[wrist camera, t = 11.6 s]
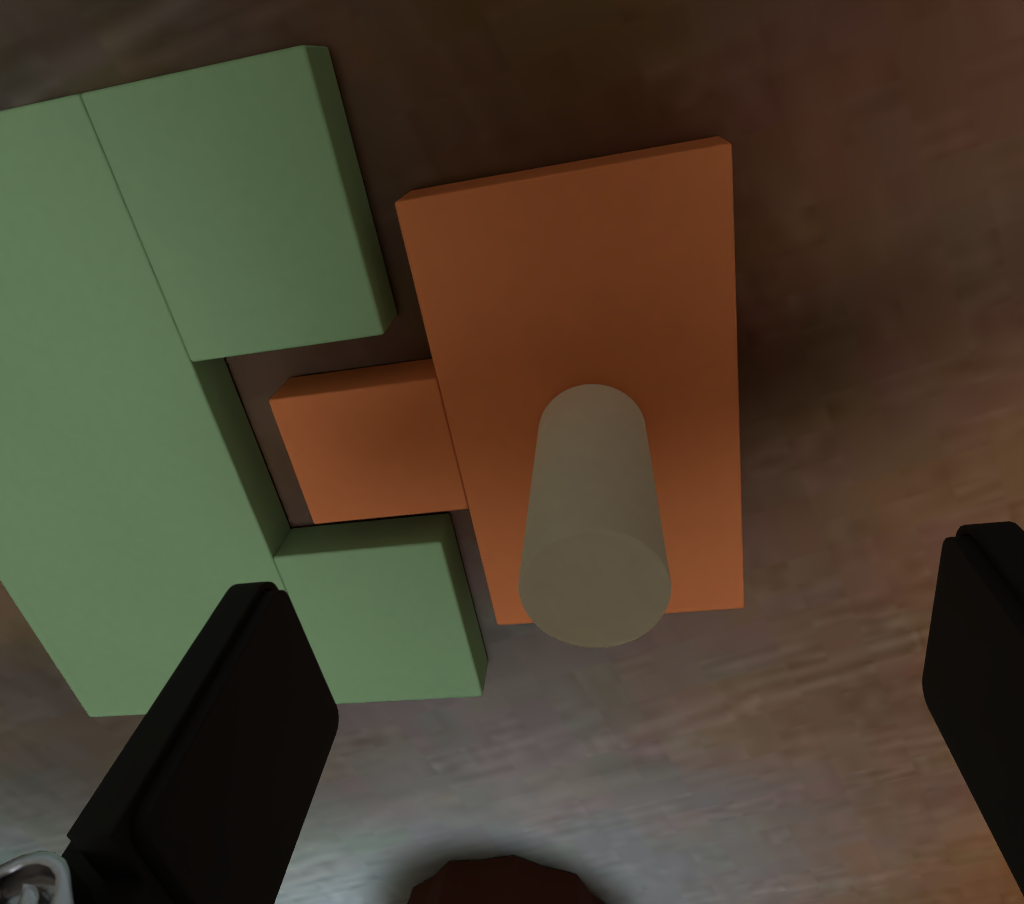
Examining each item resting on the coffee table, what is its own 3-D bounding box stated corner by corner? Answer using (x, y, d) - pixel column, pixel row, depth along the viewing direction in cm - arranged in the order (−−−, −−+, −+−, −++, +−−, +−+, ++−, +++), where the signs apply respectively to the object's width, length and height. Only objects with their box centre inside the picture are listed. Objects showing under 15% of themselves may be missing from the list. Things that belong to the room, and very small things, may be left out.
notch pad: (-206, 161, 17) (-271, 169, 16) (328, 45, 15) (304, 43, 14) (114, 684, 26) (89, 717, 24) (488, 661, 23) (482, 697, 22)
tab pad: (234, 221, 17) (15, 321, 10) (720, 135, 15) (820, 191, 9) (368, 602, 23) (279, 823, 16) (734, 574, 21) (803, 810, 14)
